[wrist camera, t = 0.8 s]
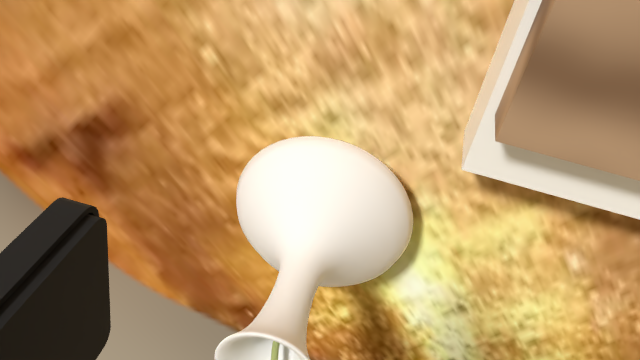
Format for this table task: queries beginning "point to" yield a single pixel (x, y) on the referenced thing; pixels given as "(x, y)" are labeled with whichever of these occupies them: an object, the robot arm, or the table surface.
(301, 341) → the flower in vase
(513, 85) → the walnut block
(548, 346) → the table surface
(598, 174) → the flat white rectangular box
